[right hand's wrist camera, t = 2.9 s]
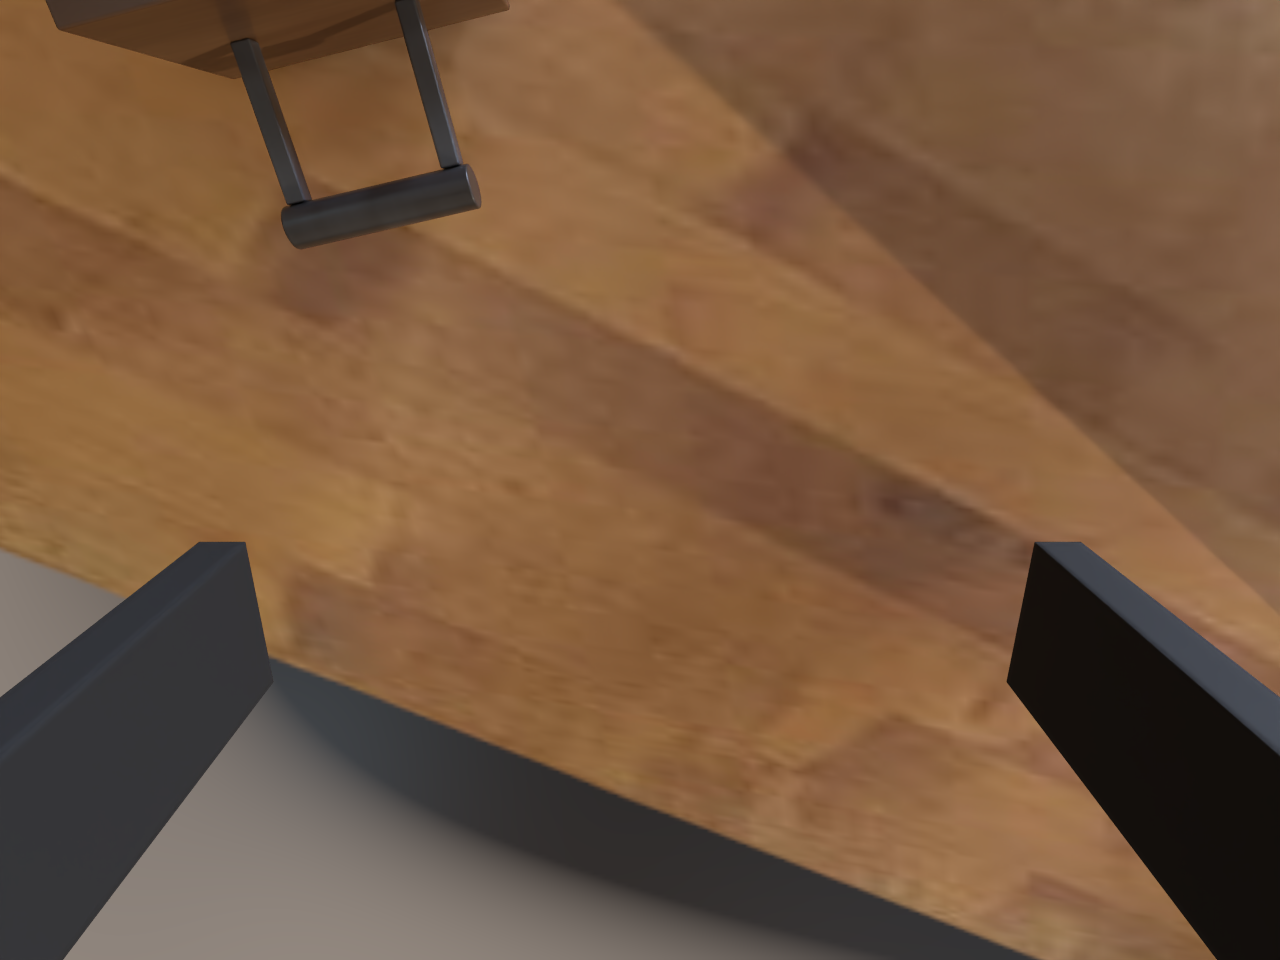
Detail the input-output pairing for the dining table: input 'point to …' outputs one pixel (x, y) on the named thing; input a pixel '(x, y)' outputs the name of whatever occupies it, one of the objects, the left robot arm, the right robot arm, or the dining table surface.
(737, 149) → the dining table surface
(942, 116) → the dining table surface
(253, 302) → the dining table surface
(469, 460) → the dining table surface
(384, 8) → the drawer
